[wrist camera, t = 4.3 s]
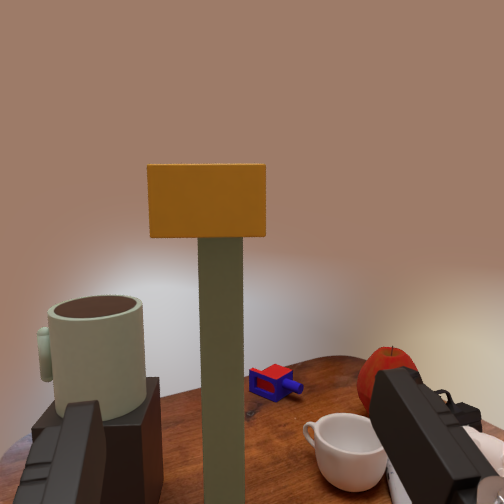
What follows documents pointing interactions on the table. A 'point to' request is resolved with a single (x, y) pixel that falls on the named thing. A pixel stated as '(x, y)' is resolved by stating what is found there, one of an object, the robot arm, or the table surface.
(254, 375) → the toy building block
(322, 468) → the teacup
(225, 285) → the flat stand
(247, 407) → the table surface
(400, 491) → the grey smart device
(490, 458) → the toy creature
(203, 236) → the rectangular block
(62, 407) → the hollow cylinder with base
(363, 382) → the apple
